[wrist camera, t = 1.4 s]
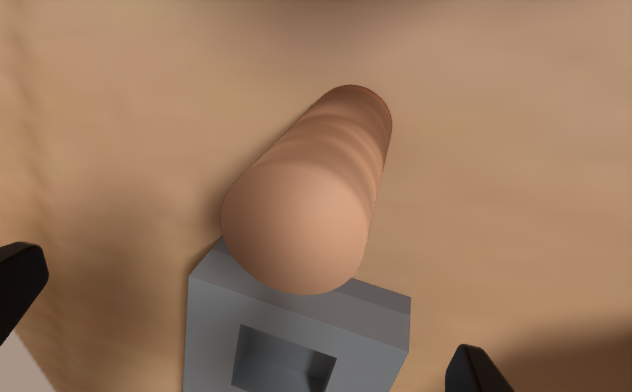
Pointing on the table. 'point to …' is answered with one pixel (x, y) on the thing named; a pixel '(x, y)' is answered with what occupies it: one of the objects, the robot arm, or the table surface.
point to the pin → (311, 196)
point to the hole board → (289, 334)
